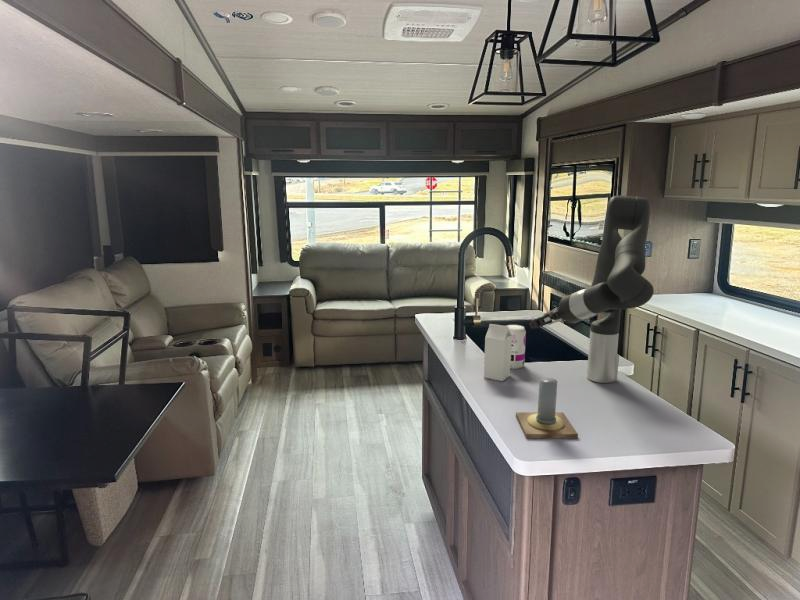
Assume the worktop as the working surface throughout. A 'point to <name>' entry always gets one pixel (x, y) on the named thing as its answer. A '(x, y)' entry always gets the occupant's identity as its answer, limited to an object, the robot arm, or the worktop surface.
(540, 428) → the post base
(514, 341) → the supplement can
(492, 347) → the milk carton
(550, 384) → the grey rounded cylinder
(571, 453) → the worktop surface
